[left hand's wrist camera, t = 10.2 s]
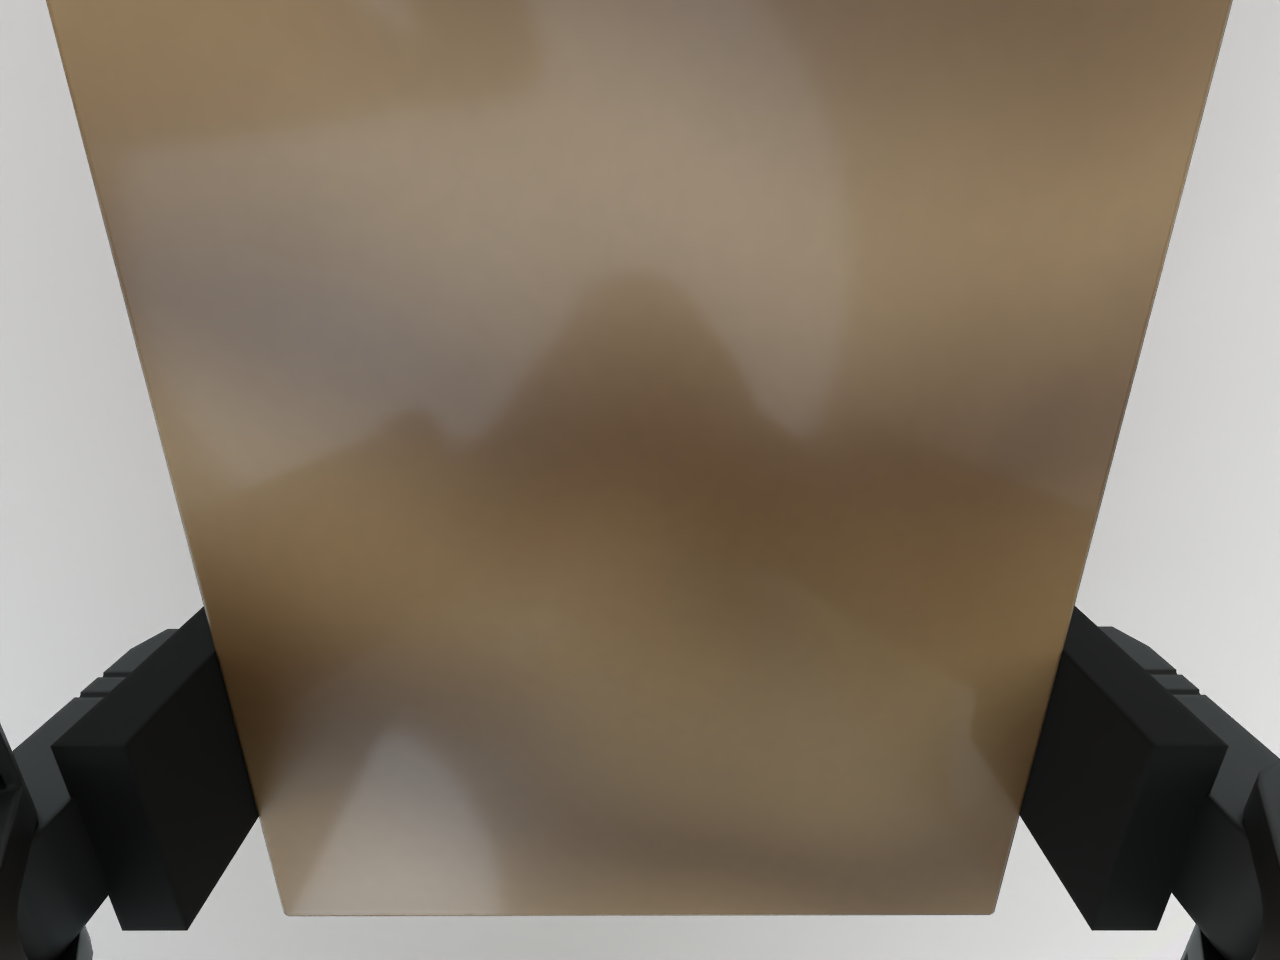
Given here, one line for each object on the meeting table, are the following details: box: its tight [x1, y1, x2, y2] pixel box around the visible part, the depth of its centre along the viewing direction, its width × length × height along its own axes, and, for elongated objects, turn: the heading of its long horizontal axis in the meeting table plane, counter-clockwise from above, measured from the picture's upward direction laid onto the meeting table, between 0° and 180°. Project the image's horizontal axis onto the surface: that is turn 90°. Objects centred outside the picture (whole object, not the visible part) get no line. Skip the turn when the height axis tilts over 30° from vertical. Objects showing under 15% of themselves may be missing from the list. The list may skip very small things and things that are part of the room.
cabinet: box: [46, 0, 1233, 916], centre depth 11 cm, size 16×10×8 cm, turn 0°
